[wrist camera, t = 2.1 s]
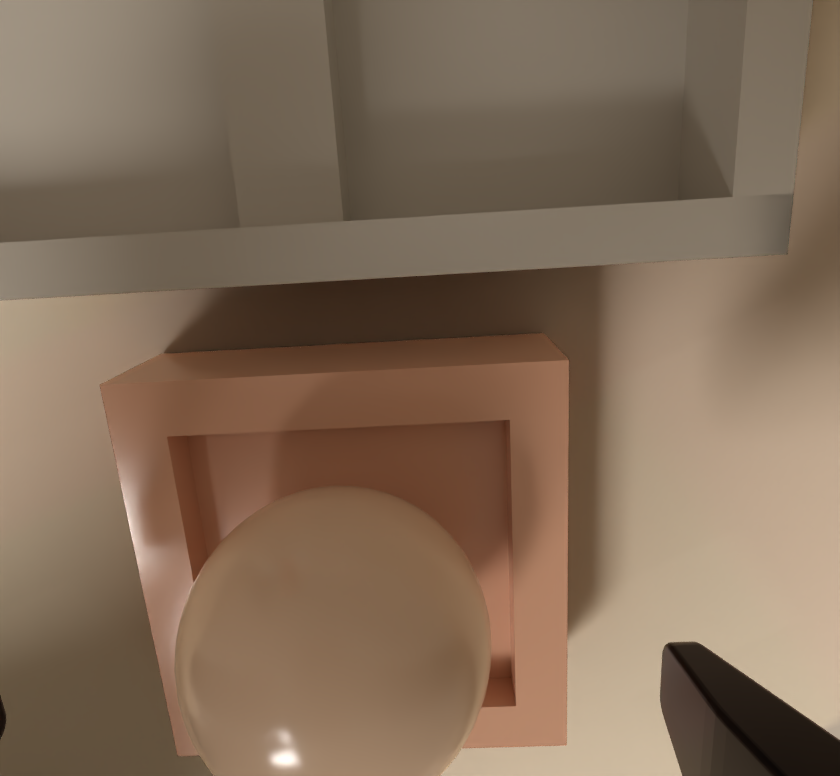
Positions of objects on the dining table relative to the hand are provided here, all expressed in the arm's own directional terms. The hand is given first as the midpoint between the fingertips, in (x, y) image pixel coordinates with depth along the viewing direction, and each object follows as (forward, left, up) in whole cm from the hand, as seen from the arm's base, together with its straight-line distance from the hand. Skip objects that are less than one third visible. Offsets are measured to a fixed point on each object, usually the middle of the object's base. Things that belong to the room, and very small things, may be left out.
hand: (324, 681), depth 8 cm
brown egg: (0, 0, -3) cm, 3 cm away
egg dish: (0, 0, -4) cm, 5 cm away
